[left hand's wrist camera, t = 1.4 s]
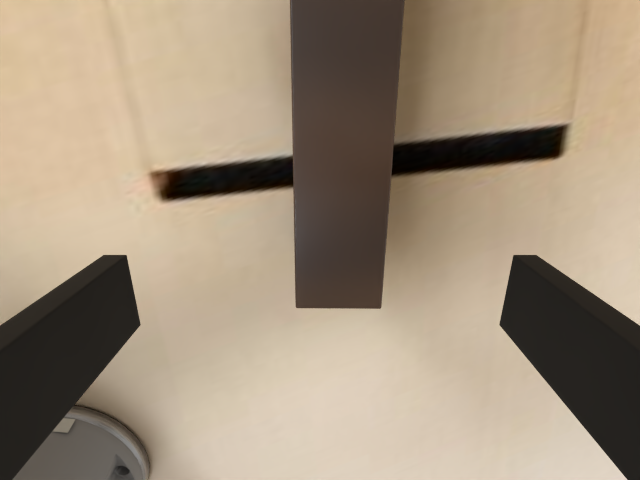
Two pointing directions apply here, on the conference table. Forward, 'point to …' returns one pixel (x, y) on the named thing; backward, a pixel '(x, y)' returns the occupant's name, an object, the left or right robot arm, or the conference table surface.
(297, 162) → the beam
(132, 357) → the conference table surface
